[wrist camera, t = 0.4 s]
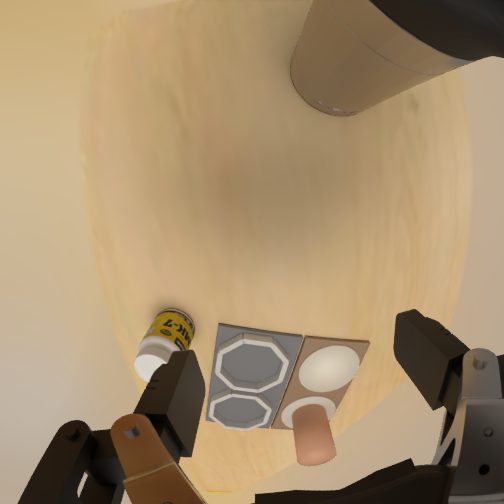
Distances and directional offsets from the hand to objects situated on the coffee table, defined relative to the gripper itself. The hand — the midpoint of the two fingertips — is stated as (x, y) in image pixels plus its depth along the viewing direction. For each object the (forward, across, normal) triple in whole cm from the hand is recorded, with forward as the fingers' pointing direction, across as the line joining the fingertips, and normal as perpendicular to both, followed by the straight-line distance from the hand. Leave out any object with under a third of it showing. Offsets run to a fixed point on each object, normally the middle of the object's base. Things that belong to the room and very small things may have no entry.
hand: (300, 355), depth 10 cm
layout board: (+19, +1, +19) cm, 27 cm away
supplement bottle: (+19, +12, +7) cm, 24 cm away
